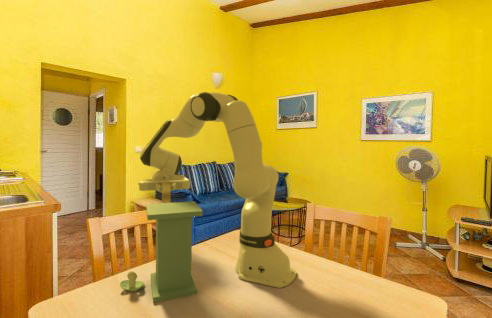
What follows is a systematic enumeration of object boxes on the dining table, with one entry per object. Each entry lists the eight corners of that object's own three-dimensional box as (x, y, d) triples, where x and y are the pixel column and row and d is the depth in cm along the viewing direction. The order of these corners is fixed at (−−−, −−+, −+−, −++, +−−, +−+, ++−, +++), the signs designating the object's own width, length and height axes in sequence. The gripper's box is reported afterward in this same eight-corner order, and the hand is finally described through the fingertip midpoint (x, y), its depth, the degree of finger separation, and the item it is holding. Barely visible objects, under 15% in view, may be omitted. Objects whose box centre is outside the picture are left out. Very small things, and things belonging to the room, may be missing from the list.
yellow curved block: (175, 225, 112) (176, 228, 107) (157, 227, 109) (157, 229, 104) (174, 181, 112) (176, 181, 107) (156, 181, 109) (157, 182, 105)
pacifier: (127, 282, 91) (117, 292, 85) (127, 264, 91) (117, 272, 85) (149, 284, 90) (140, 294, 84) (149, 266, 90) (140, 274, 84)
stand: (202, 293, 86) (203, 211, 84) (147, 303, 80) (147, 216, 78) (192, 271, 100) (194, 200, 97) (146, 278, 94) (146, 203, 91)
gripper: (138, 175, 117) (138, 180, 104) (186, 174, 124) (192, 179, 111) (138, 190, 117) (138, 197, 104) (186, 188, 125) (192, 194, 112)
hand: (166, 187), depth 108 cm, fingers closed on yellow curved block, 3 cm apart
